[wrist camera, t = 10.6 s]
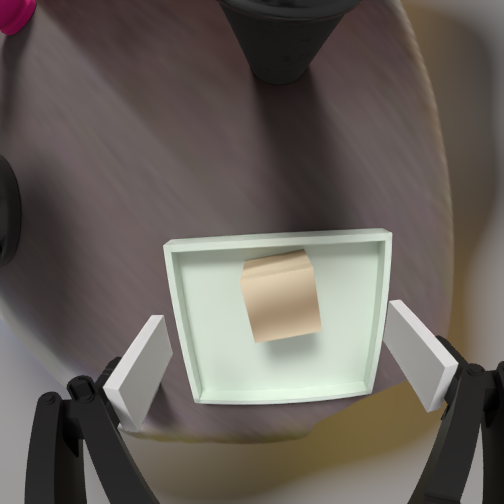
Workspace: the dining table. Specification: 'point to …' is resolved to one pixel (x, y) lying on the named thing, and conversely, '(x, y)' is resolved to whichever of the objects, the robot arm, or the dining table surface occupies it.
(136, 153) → the dining table surface
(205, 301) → the tray
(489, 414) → the robot arm
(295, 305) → the beech block
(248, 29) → the drinking cup
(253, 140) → the dining table surface
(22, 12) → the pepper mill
